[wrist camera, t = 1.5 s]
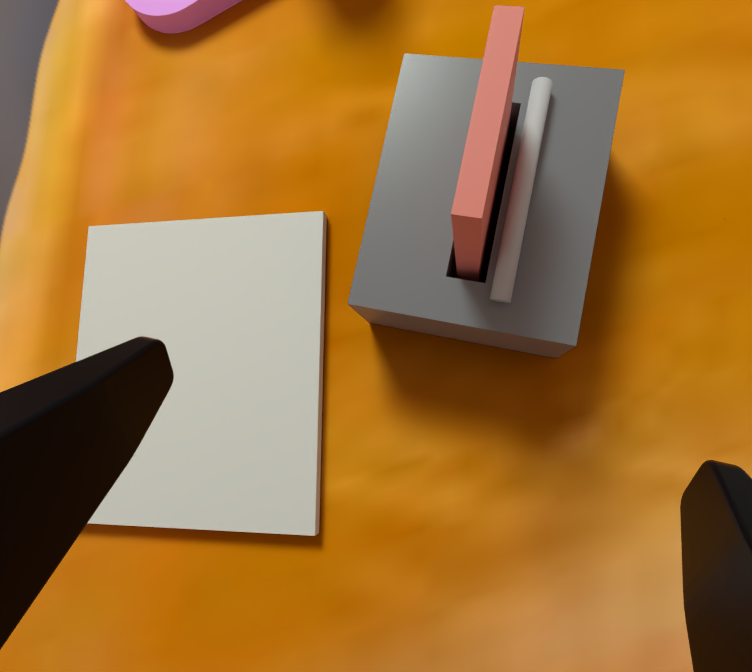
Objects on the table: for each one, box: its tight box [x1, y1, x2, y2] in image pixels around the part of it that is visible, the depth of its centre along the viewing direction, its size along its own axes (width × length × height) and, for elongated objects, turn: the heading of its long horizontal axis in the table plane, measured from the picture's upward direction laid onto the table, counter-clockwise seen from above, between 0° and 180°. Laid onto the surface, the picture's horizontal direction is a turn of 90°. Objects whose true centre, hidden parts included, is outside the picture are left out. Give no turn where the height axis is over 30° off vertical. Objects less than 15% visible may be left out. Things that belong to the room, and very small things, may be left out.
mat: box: [76, 211, 327, 536], centre depth 23 cm, size 14×12×1 cm
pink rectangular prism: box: [451, 5, 524, 282], centre depth 18 cm, size 6×1×9 cm, turn 167°
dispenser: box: [348, 54, 625, 358], centre depth 20 cm, size 10×8×5 cm
